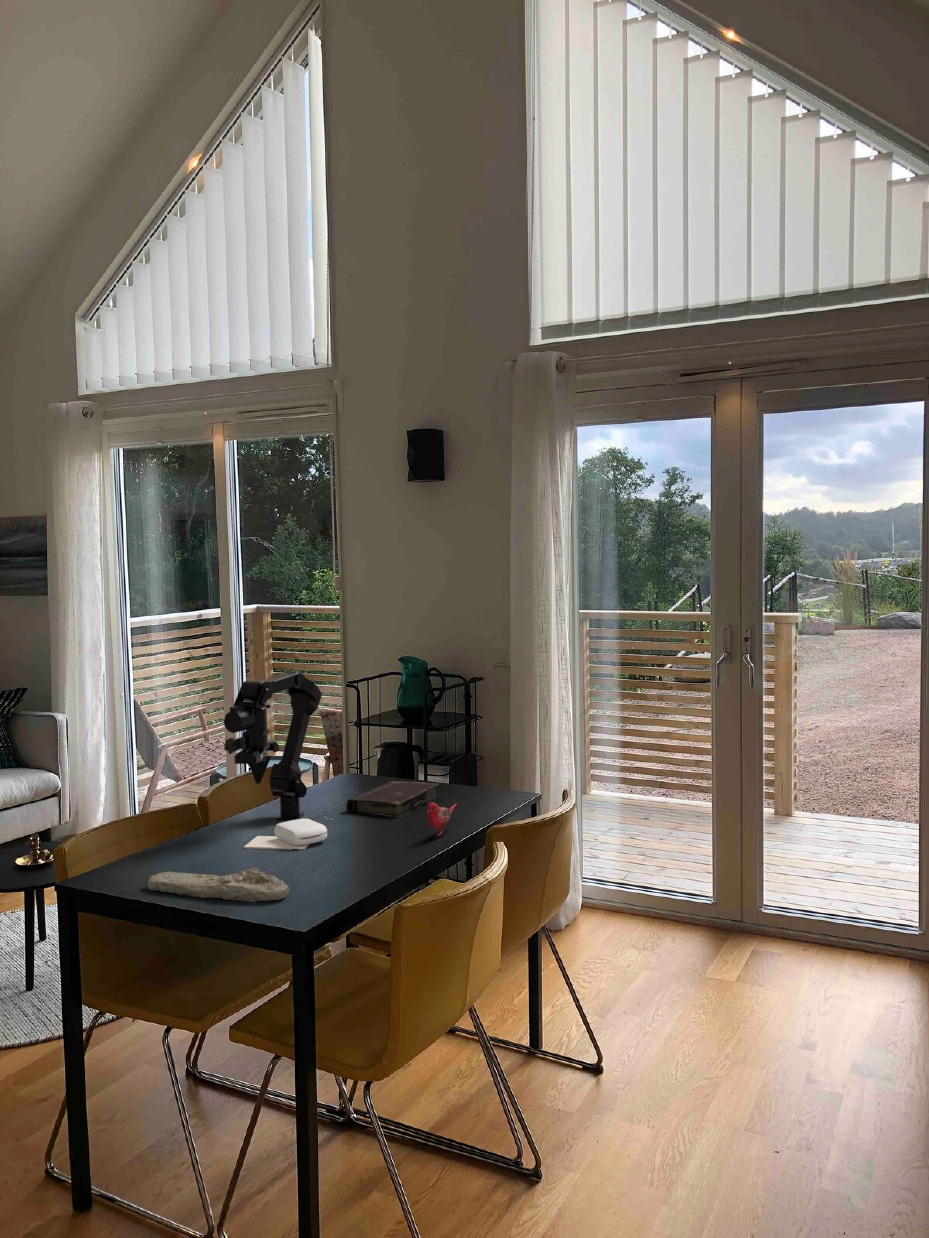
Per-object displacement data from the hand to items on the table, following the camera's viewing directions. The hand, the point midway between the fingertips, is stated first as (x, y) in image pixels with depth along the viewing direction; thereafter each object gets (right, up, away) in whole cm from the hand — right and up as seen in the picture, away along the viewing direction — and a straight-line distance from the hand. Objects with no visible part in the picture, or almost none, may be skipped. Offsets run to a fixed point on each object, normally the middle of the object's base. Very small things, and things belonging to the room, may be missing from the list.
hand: (258, 783), depth 275 cm
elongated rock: (+1, -17, -50) cm, 53 cm away
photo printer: (+10, -11, -6) cm, 16 cm away
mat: (+8, -14, -13) cm, 20 cm away
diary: (+36, -11, +26) cm, 45 cm away
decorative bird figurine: (+51, -13, -6) cm, 53 cm away
